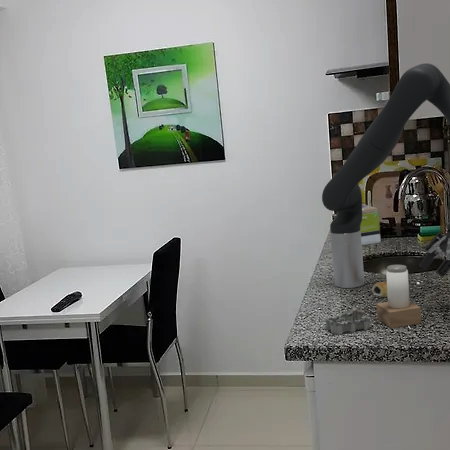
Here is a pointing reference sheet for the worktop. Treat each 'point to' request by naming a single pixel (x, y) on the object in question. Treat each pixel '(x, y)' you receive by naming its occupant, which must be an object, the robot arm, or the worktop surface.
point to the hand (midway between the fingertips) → (430, 271)
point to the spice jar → (397, 286)
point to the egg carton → (348, 321)
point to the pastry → (380, 289)
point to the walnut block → (398, 315)
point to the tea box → (370, 225)
